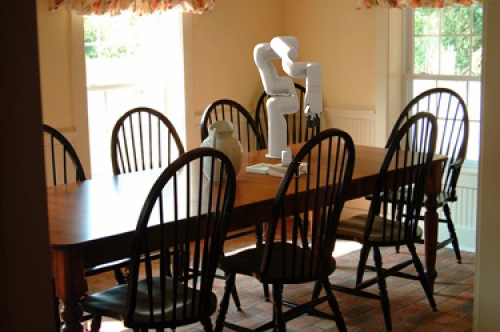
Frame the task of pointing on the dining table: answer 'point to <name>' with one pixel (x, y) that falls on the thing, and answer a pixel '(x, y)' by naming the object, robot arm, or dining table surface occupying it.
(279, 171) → the crumpled beige cloth
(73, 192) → the dining table surface
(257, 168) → the rack tray
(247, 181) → the dining table surface
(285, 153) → the white upright block
